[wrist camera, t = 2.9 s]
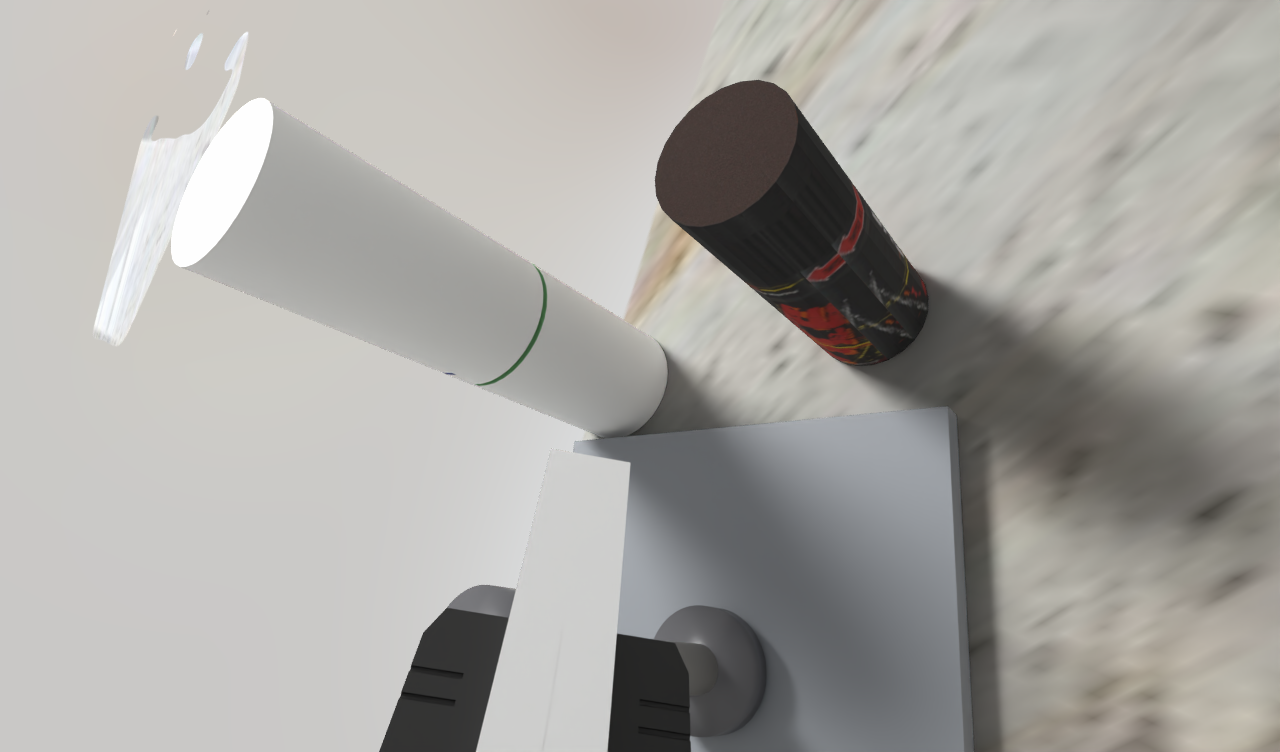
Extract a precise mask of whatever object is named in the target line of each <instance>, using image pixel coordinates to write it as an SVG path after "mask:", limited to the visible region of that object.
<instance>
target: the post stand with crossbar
mask: <svg viewBox="0 0 1280 752" xmlns="http://www.w3.org/2000/svg"><path fill="white" fill-rule="evenodd" d="M515 592H516V589H513V588H506V587H499V586H490V585H479V586H475V587H472V588H470V589H467V590H466V591H464V592H463V593H461V594H460V595H459V596H458V597H456V598H455V599H454V600H453V601H452V602H451V603H450V605H449V606H448V607H447V608H452V609H458V610H464V611H471V612H477V613H483V614H489V615H495V616H501V617H507V618H509V616H510V612H511V608H512V604H513V600H514V596H515ZM654 640H660V641H666V642H673V643H675V644H676V646H677V648H678V650H679V653H680V655H681V657H682V659H683V662H684V664H685V666H686V668H687V670H688V673H689V693H690V708H689V713H690V731H691V735H690V736H693V737H711V736H721V735H727V734H730V733H733V732H735V731H737V730H739V729H740V728H742V727H743V726H744V725H746V724H747V723H748V722H749V721H750V720H751V719H752V717H753V716H754V715H755V713H756V712H757V710H758V708H759V706H760V704H761V701H762V699H763V696H764V692H765V687H766V678H767V675H766V661H765V656H764V652H763V649H762V646H761V643H760V641H759V639H758V637H757V635H756V634H755V632H754V631H753V629H752V628H751V627H750V626H749V624H748V623H747V622H746V621H745V620H743V619H742V618H741V617H740V616H738V615H737V614H735V613H733V612H731V611H729V610H726V609H722V608H716V607H709V606H703V605H694V606H688V607H685V608H682V609H680V610H678V611H676V612H675V613H673V614H672V615H671V616H670V617H668V618H667V619H666V620H665V622H664V623H663V624H662V625H661V627H660V628H659V630H658V631H657V633H656V635H655V637H654Z"/></svg>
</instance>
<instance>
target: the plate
mask: <svg viewBox="0 0 1280 752" xmlns="http://www.w3.org/2000/svg"><path fill="white" fill-rule="evenodd" d="M573 452H574V453H580V454H585V455H591V456H596V457H602V458H608V459H613V460H619V461H624V462H630V476H629V488H628V501H627V513H626V526H625V538H624V550H623V563H622V575H621V588H620V600H619V613H618V625H617V634H623V635H630V636H636V637H642V638H648V639H654V637H655V635H656V633H657V631H658V630H659V628H660V627H661V625H662V624H663V623H664V622H665V620H666V619H667V618H668V617H670V616H671V615H672V614H673V613H675V612H676V611H678V610H680V609H682V608H685V607H688V606H694V605H703V606H709V607H716V608H722V609H726V610H729V611H731V612H733V613H735V614H737V615H738V616H740V617H741V618H742V619H743V620H745V621H746V622H747V623H748V624H749V626H750V627H751V628H752V629H753V631H754V632H755V634H756V635H757V637H758V639H759V641H760V643H761V646H762V649H763V652H764V656H765V661H766V675H767V678H766V687H765V692H764V696H763V699H762V701H761V704H760V706H759V708H758V710H757V712H756V713H755V715H754V716H753V717H752V719H751V720H750V721H749V722H748V723H747V724H746V725H744V726H743V727H742V728H740V729H739V730H737V731H735V732H733V733H730V734H727V735H721V736H711V737H693V736H690V741H691V752H974V739H973V720H972V700H971V681H970V662H969V642H968V623H967V604H966V585H965V565H964V546H963V527H962V508H961V488H960V469H959V450H958V430H957V415H956V414H955V413H954V412H953V411H952V410H951V409H950V408H949V407H948V406H944V407H933V408H923V409H912V410H901V411H891V412H880V413H870V414H859V415H849V416H838V417H827V418H817V419H806V420H796V421H785V422H775V423H764V424H753V425H743V426H732V427H722V428H711V429H701V430H690V431H679V432H669V433H658V434H648V435H637V436H627V437H616V438H605V439H595V440H584V441H575V442H574V449H573Z"/></svg>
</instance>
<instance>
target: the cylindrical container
mask: <svg viewBox="0 0 1280 752" xmlns="http://www.w3.org/2000/svg"><path fill="white" fill-rule="evenodd" d="M171 252H172V258H173V260H174V262H175V264H176V265H178V266H180V267H182V268H185V269H187V270H190V271H192V272H195V273H197V274H200V275H202V276H204V277H207V278H209V279H212V280H214V281H217V282H219V283H222V284H224V285H227V286H229V287H232V288H234V289H237V290H239V291H241V292H244V293H247V294H249V295H251V296H254V297H256V298H259V299H261V300H264V301H266V302H269V303H271V304H274V305H276V306H279V307H281V308H284V309H286V310H289V311H291V312H294V313H296V314H299V315H301V316H303V317H306V318H309V319H311V320H313V321H316V322H318V323H321V324H323V325H326V326H328V327H331V328H333V329H336V330H338V331H341V332H343V333H346V334H348V335H351V336H353V337H356V338H358V339H360V340H363V341H365V342H368V343H371V344H373V345H375V346H378V347H380V348H383V349H385V350H388V351H390V352H393V353H395V354H397V355H400V356H403V357H405V358H407V359H410V360H412V361H415V362H417V363H420V364H423V365H425V366H427V367H430V368H432V369H435V370H437V371H440V372H443V373H445V374H447V375H450V376H452V377H454V378H457V379H460V380H462V381H465V382H467V383H469V384H472V385H474V386H477V387H479V388H482V389H484V390H487V391H489V392H492V393H494V394H497V395H499V396H502V397H504V398H507V399H509V400H511V401H514V402H516V403H519V404H521V405H524V406H526V407H529V408H531V409H534V410H536V411H539V412H541V413H544V414H546V415H549V416H551V417H554V418H556V419H559V420H561V421H563V422H566V423H568V424H571V425H573V426H576V427H578V428H581V429H583V430H586V431H588V432H591V433H593V434H596V435H598V436H601V437H604V438H616V437H624V436H627V435H629V434H631V433H633V432H635V431H637V430H638V429H639V428H641V427H642V426H643V425H644V424H645V423H646V422H647V421H648V420H649V419H650V418H651V417H652V415H653V414H654V413H655V411H656V409H657V408H658V406H659V404H660V402H661V400H662V398H663V395H664V392H665V388H666V385H667V376H668V369H667V361H666V357H665V353H664V352H663V350H662V348H661V346H660V345H659V343H658V342H657V341H656V340H655V339H654V338H652V337H650V336H649V335H647V334H646V333H644V332H642V331H641V330H639V329H638V328H636V327H634V326H633V325H631V324H630V323H628V322H626V321H625V320H623V319H621V318H620V317H618V316H616V315H615V314H613V313H612V312H610V311H609V310H607V309H605V308H604V307H602V306H600V305H598V304H597V303H596V302H594V301H592V300H591V299H589V298H588V297H586V296H584V295H583V294H581V293H579V292H578V291H576V290H575V289H573V288H571V287H570V286H568V285H567V284H565V283H563V282H561V281H560V280H558V279H557V278H555V277H554V276H552V275H550V274H549V273H547V272H546V271H544V270H542V269H541V268H539V267H537V266H536V265H534V264H532V263H531V262H529V261H528V260H526V259H525V258H523V257H521V256H520V255H518V254H516V253H515V252H513V251H512V250H510V249H508V248H507V247H505V246H504V245H502V244H500V243H498V242H497V241H495V240H494V239H492V238H490V237H489V236H487V235H486V234H484V233H482V232H481V231H479V230H477V229H476V228H474V227H473V226H471V225H469V224H468V223H466V222H464V221H463V220H461V219H460V218H458V217H456V216H455V215H453V214H451V213H450V212H448V211H447V210H445V209H443V208H442V207H440V206H438V205H436V204H435V203H434V202H432V201H430V200H429V199H427V198H425V197H424V196H422V195H421V194H419V193H417V192H416V191H414V190H412V189H411V188H409V187H408V186H406V185H404V184H403V183H401V182H399V181H398V180H396V179H394V178H393V177H391V176H390V175H388V174H386V173H385V172H383V171H381V170H380V169H378V168H377V167H375V166H373V165H372V164H370V163H369V162H367V161H365V160H364V159H362V158H360V157H359V156H357V155H356V154H354V153H352V152H350V151H349V150H347V149H346V148H344V147H343V146H341V145H339V144H338V143H336V142H334V141H333V140H331V139H329V138H328V137H326V136H325V135H323V134H321V133H320V132H318V131H317V130H315V129H313V128H312V127H310V126H308V125H307V124H305V123H303V122H302V121H300V120H299V119H297V118H295V117H294V116H292V115H291V114H289V113H287V112H286V111H284V110H282V109H281V108H279V107H277V106H276V105H274V104H273V103H271V102H269V101H267V100H266V99H264V98H257V99H255V100H252V101H250V102H249V103H247V104H246V105H244V106H243V107H242V108H241V109H239V110H238V111H237V112H236V113H235V114H234V115H233V116H232V117H231V118H230V119H229V121H228V122H227V123H226V124H225V125H224V126H223V128H222V129H221V130H220V132H219V133H218V134H217V136H216V137H215V138H214V140H213V141H212V143H211V144H210V146H209V147H208V149H207V150H206V152H205V154H204V155H203V157H202V159H201V161H200V162H199V164H198V166H197V168H196V170H195V172H194V174H193V176H192V178H191V180H190V182H189V184H188V186H187V189H186V191H185V193H184V196H183V198H182V201H181V204H180V207H179V209H178V213H177V216H176V220H175V223H174V228H173V233H172V241H171Z"/></svg>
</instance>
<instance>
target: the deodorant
mask: <svg viewBox="0 0 1280 752" xmlns="http://www.w3.org/2000/svg"><path fill="white" fill-rule="evenodd" d="M655 187H656V196H657V199H658V201H659V204H660V206H661V208H662V210H663V211H664V212H665V213H666V214H667V215H668V216H669V217H670V218H671V219H672V220H673V221H674V222H675V223H676V224H678V225H679V226H680V227H681V228H682V229H683V230H685V231H686V232H687V233H688V234H689V235H690V236H692V237H693V238H694V239H695V240H696V241H697V242H699V243H700V244H701V245H702V246H703V247H704V248H706V249H707V250H708V251H709V252H710V253H711V254H713V255H714V256H715V257H716V258H717V259H718V260H720V261H721V262H722V263H723V264H724V265H726V266H727V267H728V268H729V269H730V270H731V271H733V272H734V273H735V274H736V275H737V276H738V277H740V278H741V279H742V280H743V281H744V282H745V283H747V284H748V285H749V286H750V287H751V288H752V289H754V290H755V291H756V292H757V293H758V294H759V295H761V296H762V297H763V298H764V299H765V300H766V301H768V302H769V303H770V304H771V305H772V306H773V307H775V308H776V309H777V310H778V311H779V312H780V313H782V314H783V315H784V316H785V317H786V318H787V319H789V320H790V321H791V322H792V323H793V324H794V325H796V326H797V327H798V328H799V329H800V330H801V331H803V332H804V333H805V334H806V335H807V336H808V337H810V338H811V339H812V340H813V341H814V342H815V343H817V344H818V345H819V346H820V347H821V348H822V349H824V350H825V351H826V352H827V353H828V354H829V355H831V356H832V357H834V358H836V359H837V360H839V361H841V362H843V363H847V364H852V365H857V366H860V365H873V364H876V363H880V362H883V361H886V360H889V359H890V358H892V357H894V356H895V355H897V354H899V353H900V352H902V351H903V350H904V349H905V348H906V347H907V346H908V345H909V344H911V343H912V342H913V341H914V339H915V338H916V336H917V335H918V333H919V332H920V330H921V329H922V327H923V324H924V322H925V319H926V316H927V313H928V294H927V291H926V287H925V284H924V282H923V281H922V279H921V278H920V276H919V275H918V273H917V272H916V270H915V269H914V268H913V266H912V265H911V263H910V262H909V261H908V259H907V258H906V257H905V255H904V254H903V252H902V251H901V250H900V248H899V247H898V246H897V244H896V243H895V241H894V240H893V239H892V237H891V236H890V234H889V233H888V232H887V230H886V229H885V228H884V226H883V225H882V223H881V222H880V221H879V219H878V218H877V216H876V215H875V214H874V212H873V211H872V210H871V208H870V207H869V205H868V204H867V203H866V201H865V200H864V198H863V197H862V196H861V194H860V193H859V192H858V190H857V189H856V187H855V186H854V185H853V183H852V182H851V180H850V179H849V178H848V176H847V175H846V174H845V172H844V171H843V169H842V168H841V167H840V165H839V164H838V162H837V161H836V160H835V158H834V157H833V156H832V154H831V153H830V151H829V150H828V149H827V147H826V146H825V145H824V143H823V142H822V140H821V139H820V138H819V136H818V135H817V133H816V132H815V131H814V129H813V128H812V127H811V125H810V124H809V122H808V121H807V120H806V118H805V117H804V115H803V114H802V113H801V111H800V110H799V109H798V107H797V106H796V104H795V103H794V102H793V100H792V99H791V97H790V96H789V95H788V93H787V92H786V91H784V90H783V89H781V88H780V87H778V86H777V85H775V84H774V83H770V82H765V81H760V80H753V81H742V82H738V83H735V84H732V85H729V86H727V87H724V88H722V89H720V90H718V91H716V92H715V93H713V94H711V95H709V96H708V97H706V98H705V99H703V100H702V101H701V102H700V103H699V104H697V105H696V106H695V107H694V108H693V109H691V110H690V111H689V112H688V113H687V114H686V116H685V117H684V118H683V119H682V120H681V121H680V123H679V124H678V125H677V126H676V127H675V129H674V130H673V132H672V134H671V135H670V137H669V139H668V140H667V142H666V144H665V146H664V148H663V151H662V153H661V156H660V158H659V161H658V164H657V171H656V176H655Z"/></svg>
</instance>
